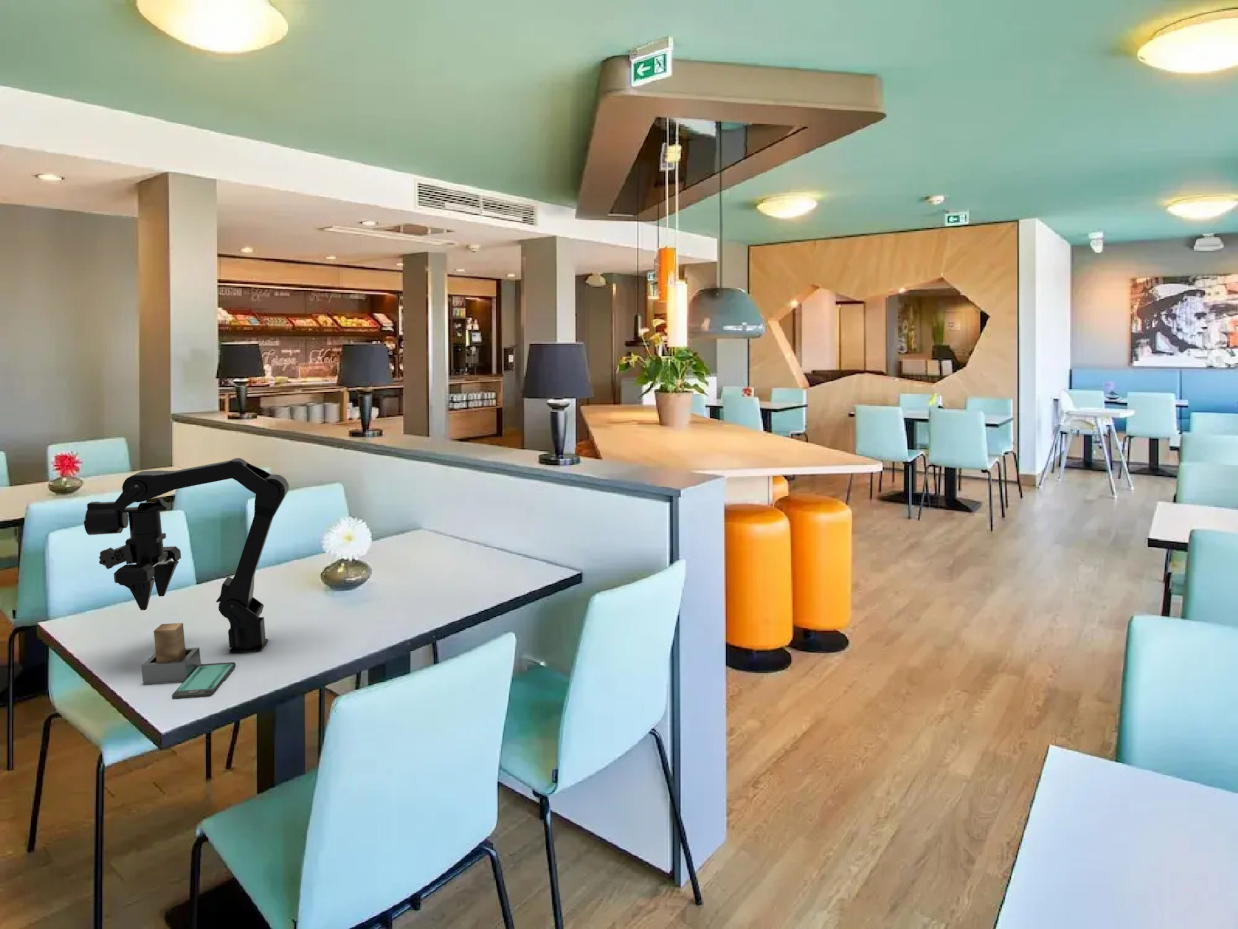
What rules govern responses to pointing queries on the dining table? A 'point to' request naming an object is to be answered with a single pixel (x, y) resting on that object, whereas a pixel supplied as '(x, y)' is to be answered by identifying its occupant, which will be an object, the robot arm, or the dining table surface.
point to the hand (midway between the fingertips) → (152, 602)
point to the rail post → (169, 642)
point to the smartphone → (204, 680)
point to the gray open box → (170, 668)
